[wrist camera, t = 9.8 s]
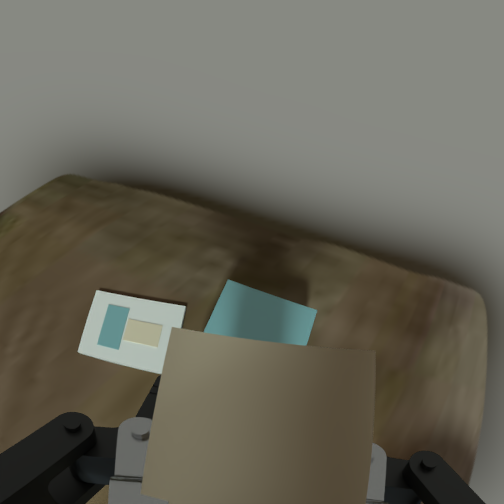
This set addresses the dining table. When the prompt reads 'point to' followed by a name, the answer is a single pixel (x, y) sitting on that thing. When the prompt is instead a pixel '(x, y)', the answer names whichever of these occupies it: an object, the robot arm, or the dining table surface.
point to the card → (130, 330)
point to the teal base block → (260, 316)
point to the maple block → (260, 423)
